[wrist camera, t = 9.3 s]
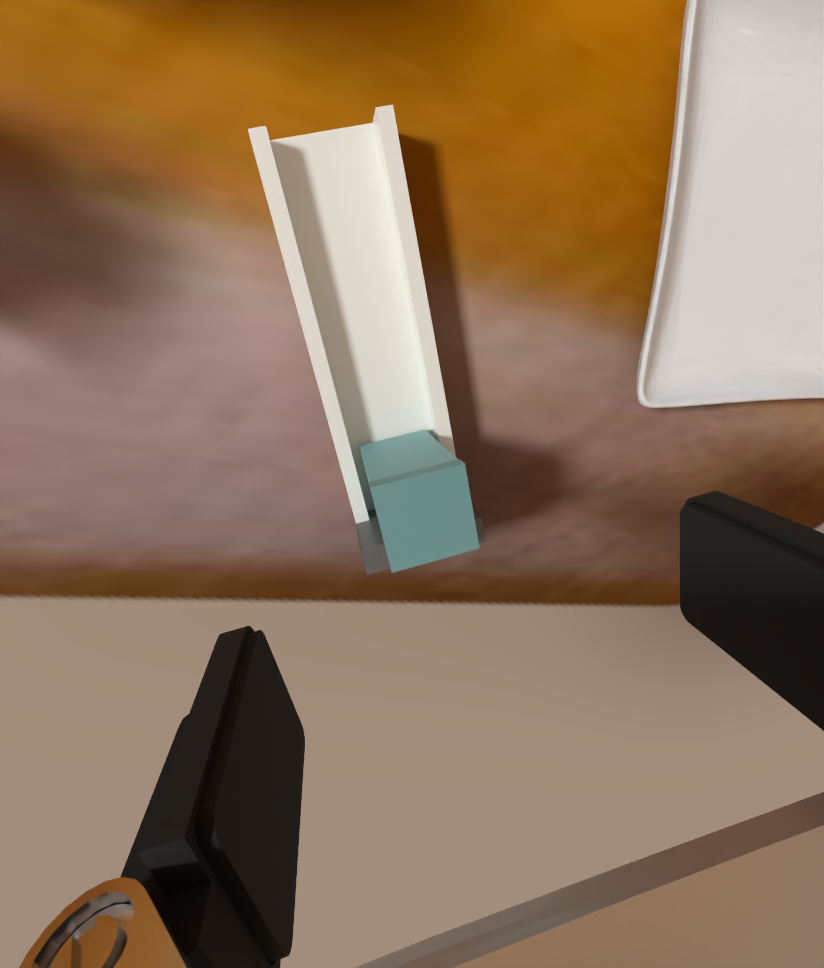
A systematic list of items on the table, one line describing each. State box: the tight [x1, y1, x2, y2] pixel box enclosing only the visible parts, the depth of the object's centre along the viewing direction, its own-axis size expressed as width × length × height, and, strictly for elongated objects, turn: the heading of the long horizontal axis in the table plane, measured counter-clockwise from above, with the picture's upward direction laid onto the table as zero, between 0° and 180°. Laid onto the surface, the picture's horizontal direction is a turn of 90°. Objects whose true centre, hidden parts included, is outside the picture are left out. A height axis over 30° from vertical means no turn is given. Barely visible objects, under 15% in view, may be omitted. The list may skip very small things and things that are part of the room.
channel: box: [248, 105, 486, 575], centre depth 23 cm, size 7×21×6 cm, turn 12°
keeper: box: [359, 429, 480, 573], centre depth 23 cm, size 4×4×8 cm
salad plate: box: [637, 0, 824, 408], centre depth 26 cm, size 21×21×3 cm
